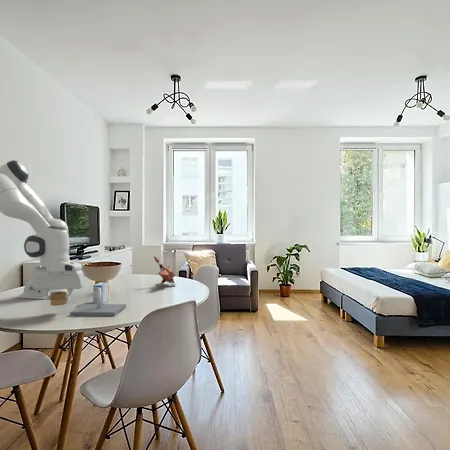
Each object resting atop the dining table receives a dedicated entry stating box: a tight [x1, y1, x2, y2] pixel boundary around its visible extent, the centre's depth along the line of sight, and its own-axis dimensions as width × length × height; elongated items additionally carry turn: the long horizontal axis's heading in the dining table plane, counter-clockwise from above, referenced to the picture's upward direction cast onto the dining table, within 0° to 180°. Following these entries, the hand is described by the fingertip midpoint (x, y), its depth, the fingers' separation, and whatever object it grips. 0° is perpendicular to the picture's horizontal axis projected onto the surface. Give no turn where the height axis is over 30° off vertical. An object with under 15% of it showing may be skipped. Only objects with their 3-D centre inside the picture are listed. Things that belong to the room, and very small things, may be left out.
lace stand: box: [69, 288, 127, 317], centre depth 150 cm, size 18×14×10 cm
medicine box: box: [92, 282, 110, 304], centre depth 167 cm, size 8×4×9 cm, turn 178°
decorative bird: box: [153, 255, 176, 287], centre depth 208 cm, size 28×18×15 cm, turn 178°
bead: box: [49, 291, 68, 307], centre depth 147 cm, size 6×6×4 cm
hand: (58, 299), depth 147 cm, fingers closed on bead, 6 cm apart
